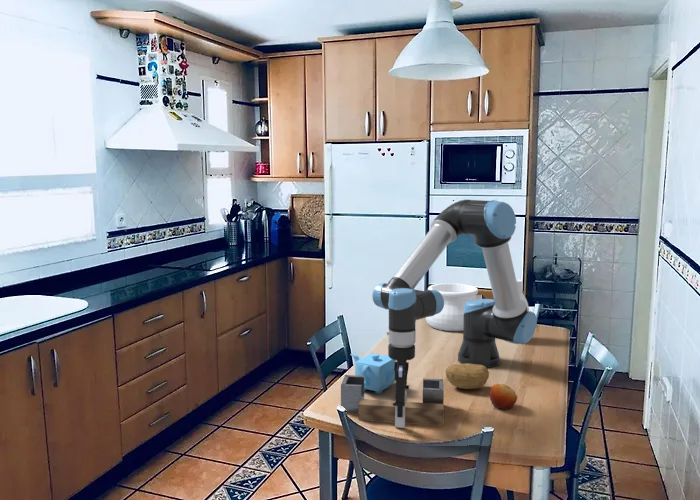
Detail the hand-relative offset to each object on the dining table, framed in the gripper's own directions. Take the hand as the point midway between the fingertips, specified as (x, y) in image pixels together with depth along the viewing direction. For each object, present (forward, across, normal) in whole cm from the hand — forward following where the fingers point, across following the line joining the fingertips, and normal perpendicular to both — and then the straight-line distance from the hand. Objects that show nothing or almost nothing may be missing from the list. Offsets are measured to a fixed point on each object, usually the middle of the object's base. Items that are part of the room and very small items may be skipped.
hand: (400, 418), depth 171 cm
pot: (+1, -104, +18) cm, 106 cm away
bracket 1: (0, -8, -15) cm, 17 cm away
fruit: (+1, -13, +30) cm, 33 cm away
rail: (+1, 0, 0) cm, 1 cm away
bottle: (0, -84, +43) cm, 94 cm away
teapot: (+1, -24, -10) cm, 26 cm away
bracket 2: (0, -8, +9) cm, 12 cm away
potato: (+1, -27, +20) cm, 34 cm away
